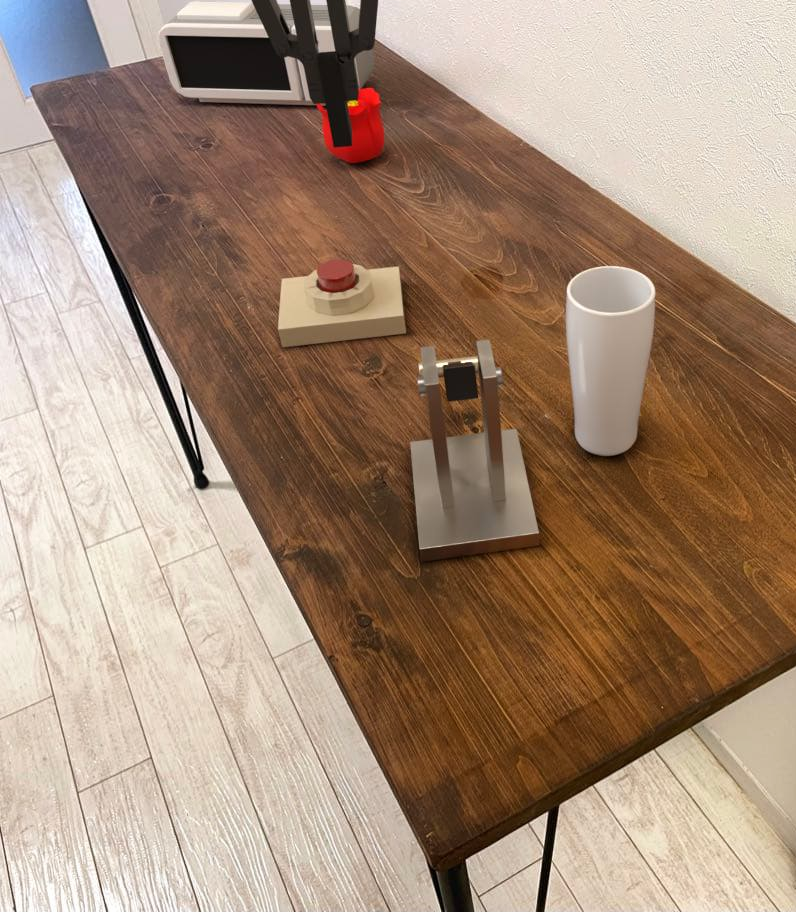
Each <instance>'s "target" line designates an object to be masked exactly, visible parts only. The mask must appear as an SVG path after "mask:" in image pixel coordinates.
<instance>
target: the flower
mask: <svg viewBox="0 0 796 912" xmlns="http://www.w3.org/2000/svg"><path fill="white" fill-rule="evenodd" d="M347 103H348V109H349V114H350V120H351V126H352V146H347V147H336V148H334V146H333V141H332V136H331V131H330V125H329V120H328V115H327V109H326V110H325V108H324V106H323V105H321V104H317V105H316V107H317V109H318V111H319V112H320V114H321V117H322V123H321V124H322V125H321V129H322V137H323V141H324V144H325V146H326V149H327V150H328V151H329V153H331V154H332V155H333V156H335V157H336V158H337V159H339V160H342V161H344V162H346V163H349V164H357V163H362V162H366V161H369V160H373V159H375V158H378V156H379V155H381V154H382V152H383V150H384V145H385V129H384V124H383V121H382V116H381V113H380V108H381V105H382V101H380V94H379V93H378V92H376V91H375V88H373V87H366V88H361V89H359V96H358V100H354V101H347Z"/></svg>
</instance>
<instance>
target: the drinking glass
mask: <svg viewBox="0 0 796 912" xmlns="http://www.w3.org/2000/svg"><path fill="white" fill-rule="evenodd" d="M655 318H656V286H655V285H654V283H653V281H652V280H651V279H650V278H649V277H647V275H645V274H643V273H642V272H640V271H638V270H636V269H633V268H628V267H626V266H617V265H604V266H597V267H592V268H588V269H585V270H583V271H581V272H579V273H577V274H576V275H575V276H574V277H572V278H571V280H570V281H569V282H568V283H567V286H566V300H565V339H566V350H567V358H568V368H569V377H570V378H569V379H570V386H571V396H572V406H573V407H572V408H573V416H574V419H573V420H574V422H573V423H574V430H573V431H574V436H575V440H576V442H577V444H578V445H579V446H580V448H582V449H583V450H585V451H586V452H588V453H590V454H592V455H597V456H600V457H612V456H617V455H620V454H623V453H625V452H627V451H628V450H629V449H631V448H632V447H633V446H634V443H635V442H636V441H637V438H638V430H639V419H640V413H641V409H642V407H641V406H642V402H643V395H644V390H645V384H646V379H647V374H648V369H649V363H650V357H651V352H652V346H653V340H654V330H655V321H656V320H655Z"/></svg>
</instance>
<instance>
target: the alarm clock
mask: <svg viewBox="0 0 796 912" xmlns="http://www.w3.org/2000/svg"><path fill="white" fill-rule="evenodd" d="M278 5H279V7H280V9H281V12H282V14H283V16H284V18H285V21H286V23H287V25H288V27H289V29H290V32H291V34H294V35H296V30H295V25H294V19H293V14H292V9H291V4H290V3H289V4H287V3H283V4H282V3H278ZM311 8H312V14H313V19H314V25H315V30H316V36H317V41H318V50H319V52H331V51H335V47H334V41H333V35H332V30H331V24H330V19H329V13H328V7H327V4H311ZM346 8H347V14H348V20H349V26H350V32H351V31H353V30H356V29H358V27H359V14H360V7H357V6H353V5H347V4H346ZM157 40H158V41H157V42H158V46H159V49H160V52H161V56H162V59H163V61H164V62H163V63H164V65H165V69H166V73H167V76H168V79H169V82H170V84H171V86H172V88H173V89H174V90H175V91H176V92H177V93H178V94H179V95H181V96H182V97H184V98H189V99H198V101H199V103H224V104H225V103H226V104H227V103H228V104H258V105H259V104H260V105H262V104H263V105H292V106H295V105H297V106H298V105H299V106H317V104H313V102H312V100H311V99H310V96H309V91H308V86H307V81H306V76H305V71H304V67H303V64H302V63H301V62H300V61H299V60H298V59H296V58H292V57H284V58H283V57H280V56H278V55H277V53H276V52H275V50H274V48H273V46H272V44H271V41H270V39H269V37H268V35H267V33H266V31H265V29H264V26H263V24H262V22H261V20H260V18H259V16H258V14H257V11H256V9H255V7H254V5H253V3H252V1H250V2H248V1H246V2H245V1H195V0H193V1H190V2H189V3H188V4H186V5H185V6H184V7H183V8H182V9H181V10H179V11H178V12H177V13H176V15H175V16H174V17H173V18H171V20H169V21H168V22H167V23H165V24H164V25H163V26H161V28H159V31H158V33H157ZM373 49H374V47H373V48H372V49H371V50H369V51H365V50H364V51H362V52H360V53H358V54H357V55H356V56H355V58H354V59H355V65H356V71H357V78H358V84H359V89H363V88H364V86H365V84H366V82H367V81H368V80H369V78H370V77H371V75H372V74H373V71H374V69H375V64H376V63H375V61H376V60H375V55H374V50H373ZM321 105H322V106H323V107H324V106H325V107H326V104H325V103H321Z"/></svg>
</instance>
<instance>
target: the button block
mask: <svg viewBox="0 0 796 912" xmlns="http://www.w3.org/2000/svg"><path fill="white" fill-rule="evenodd" d="M352 264H353V266H354V270H355V275H356V281H357V283H356V285H355V287H354V288H352V289H349V290H347V291H345V292H338V293H329V292H324V291H322V290H321V288H320V285H319V281H318V276H317V269H315V270H313V271H311V273H310V274H309V275H304V276H296V277H295V276H294V277H286V278H285V277H283V278H281V282H280V283H281V284H280V296H279V307H278V319H277V320H278V321H277V332H278V334H279V335H278V336H279V339H280V344H281V346H282V348H290V347H291V348H292V347H299V346H305V345H306V346H308V345H316V344H325V343H326V344H327V343H333V342H335V343H336V342H343V341H352V340H359V339H370V338H379V337H388V336H395V335H397V336H398V335H405V334H407V325H406V316H405V315H406V314H405V304H404V296H403V284H402V278H401V270H400V266H397V265H396V266H389V267H388V266H387V267H379V268H370V269H367V268H365V267H364V266H363V265H361V264H360V265H359V264H356V263H352Z"/></svg>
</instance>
